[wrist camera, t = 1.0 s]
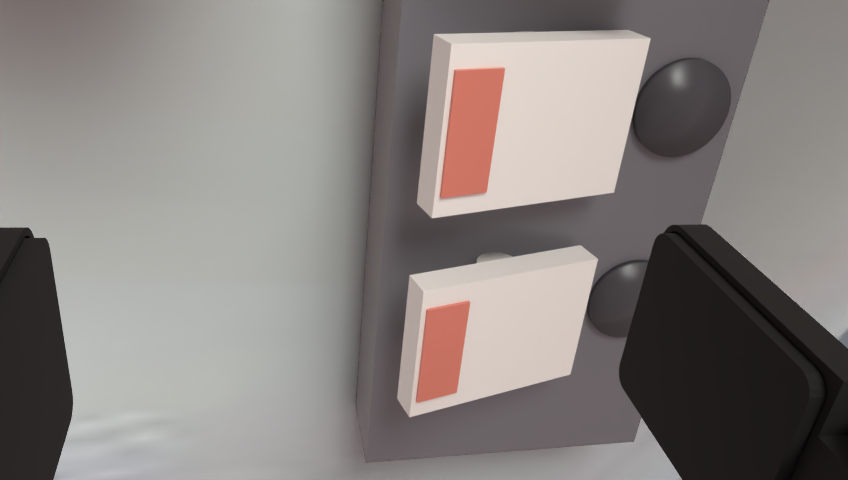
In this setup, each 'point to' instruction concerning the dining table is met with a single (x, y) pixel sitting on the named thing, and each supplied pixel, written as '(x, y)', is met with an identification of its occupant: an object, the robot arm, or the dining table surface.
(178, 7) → the dining table surface
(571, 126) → the rocker middle
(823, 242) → the dining table surface
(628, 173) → the grey switch panel
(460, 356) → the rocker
